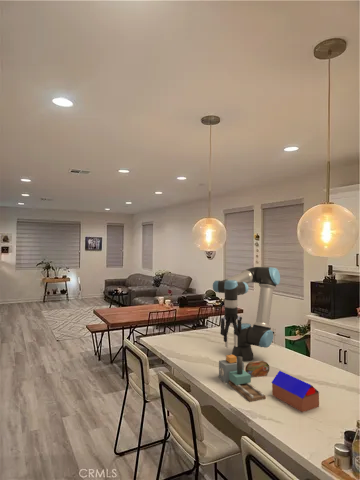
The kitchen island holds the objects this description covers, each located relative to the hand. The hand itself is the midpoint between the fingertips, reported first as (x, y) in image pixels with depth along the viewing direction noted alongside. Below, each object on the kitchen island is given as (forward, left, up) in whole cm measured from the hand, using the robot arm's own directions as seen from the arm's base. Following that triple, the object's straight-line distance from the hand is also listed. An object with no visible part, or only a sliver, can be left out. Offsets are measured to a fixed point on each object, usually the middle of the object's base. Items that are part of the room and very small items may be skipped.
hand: (231, 346), depth 184 cm
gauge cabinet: (0, 0, -19) cm, 19 cm away
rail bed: (0, +16, -19) cm, 25 cm away
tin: (-17, +1, -19) cm, 26 cm away
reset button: (0, 0, -8) cm, 8 cm away
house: (-17, +34, -19) cm, 42 cm away
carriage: (0, +10, -16) cm, 19 cm away
